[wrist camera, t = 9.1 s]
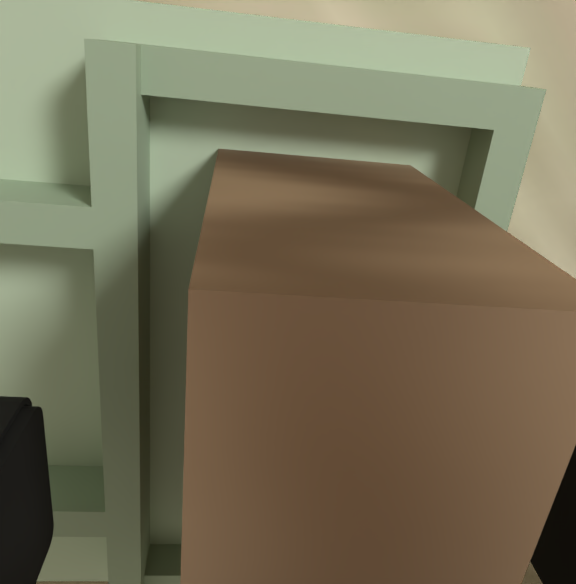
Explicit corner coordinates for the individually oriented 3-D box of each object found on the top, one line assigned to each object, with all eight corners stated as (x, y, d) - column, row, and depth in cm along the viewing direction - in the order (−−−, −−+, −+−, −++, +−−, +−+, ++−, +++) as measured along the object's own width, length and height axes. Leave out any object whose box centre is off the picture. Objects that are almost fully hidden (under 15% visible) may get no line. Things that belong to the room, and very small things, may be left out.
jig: (503, 47, 12) (573, 47, 9) (383, 548, 18) (406, 628, 15) (-291, -47, 10) (-467, -78, 7) (-125, 544, 16) (-191, 635, 14)
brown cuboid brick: (410, 165, 11) (626, 313, 5) (343, 518, 15) (416, 851, 9) (218, 148, 11) (187, 289, 5) (201, 517, 15) (172, 866, 9)
